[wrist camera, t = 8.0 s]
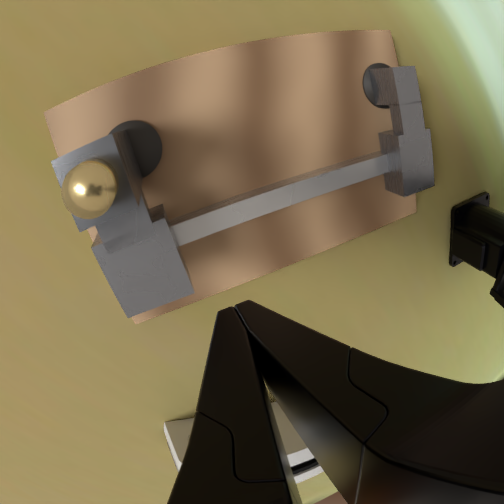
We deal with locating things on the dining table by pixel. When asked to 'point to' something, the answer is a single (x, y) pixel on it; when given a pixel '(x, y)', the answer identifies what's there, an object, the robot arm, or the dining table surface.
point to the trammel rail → (338, 164)
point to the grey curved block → (294, 446)
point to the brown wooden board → (249, 145)
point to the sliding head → (123, 224)
